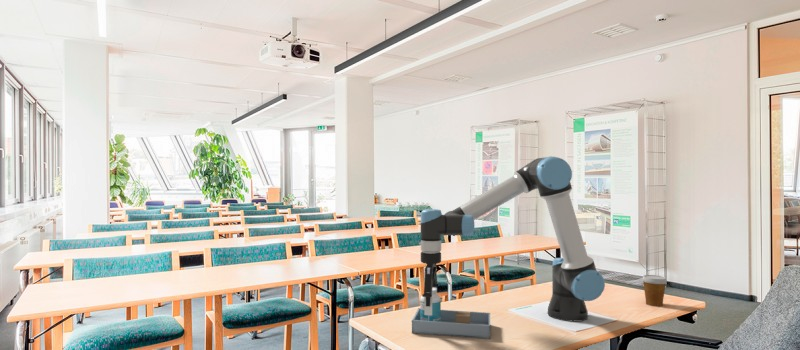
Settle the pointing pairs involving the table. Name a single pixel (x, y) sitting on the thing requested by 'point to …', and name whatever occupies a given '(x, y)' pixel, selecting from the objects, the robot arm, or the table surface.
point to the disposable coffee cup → (654, 289)
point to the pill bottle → (435, 308)
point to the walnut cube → (463, 317)
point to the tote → (454, 325)
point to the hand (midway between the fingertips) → (430, 309)
